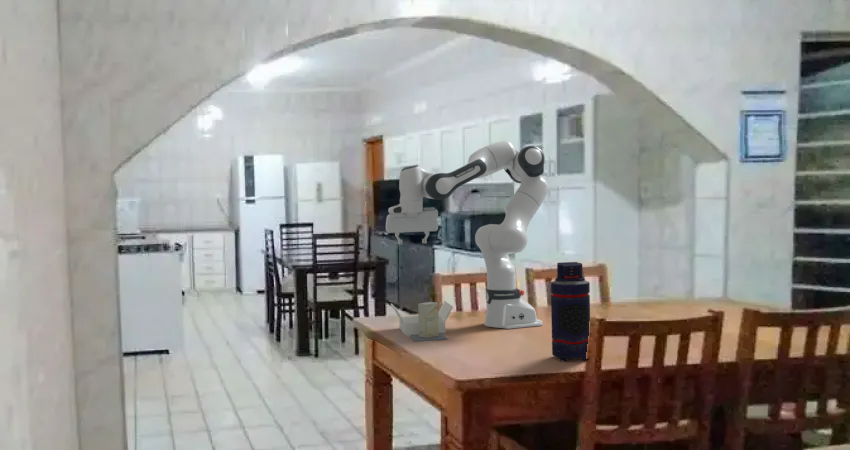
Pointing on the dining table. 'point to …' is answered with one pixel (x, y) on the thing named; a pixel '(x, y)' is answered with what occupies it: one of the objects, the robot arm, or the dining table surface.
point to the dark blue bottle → (570, 312)
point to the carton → (411, 323)
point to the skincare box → (428, 319)
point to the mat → (417, 338)
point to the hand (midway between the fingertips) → (412, 243)
